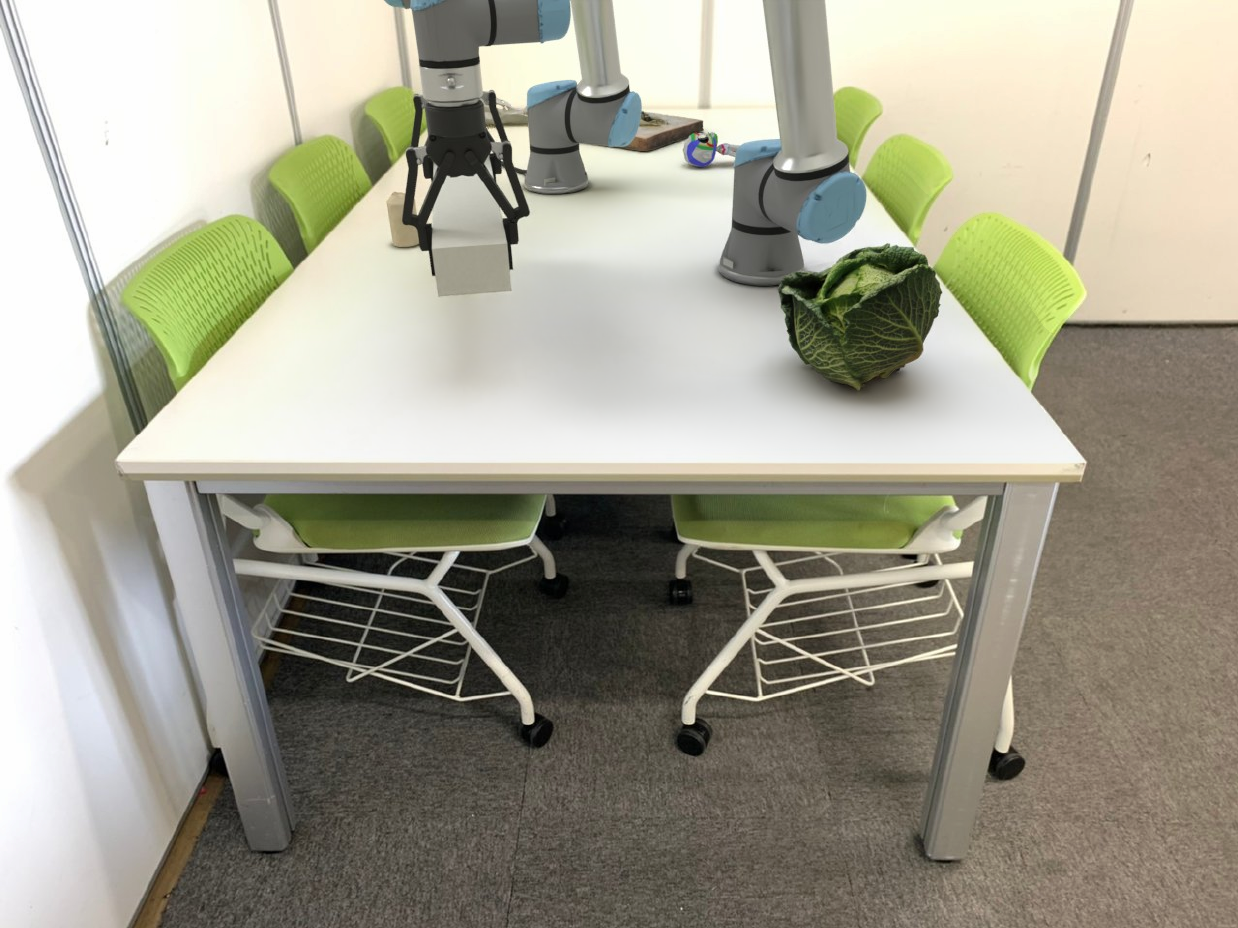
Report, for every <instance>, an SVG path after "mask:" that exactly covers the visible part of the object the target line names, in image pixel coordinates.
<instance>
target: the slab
mask: <svg viewBox="0 0 1238 928" xmlns="http://www.w3.org/2000/svg"><path fill="white" fill-rule="evenodd" d="M484 164H485V166H486V167H487V169H488V171H489V172H490V174H491V175H492V177H493V172H492V167H491V162H490V158H489V156H488V158H487V159H486V161H485V163H484ZM437 167H438V166H437V165H436V164H435V163H434V167H433V178H434V175H435V172H436V169H437ZM493 178H494V177H493ZM501 211H502V210H501V208H500V207H499V205H498V204H497V202H496V201H495V199H494V198H493V196H492V195H491V193H490V192H489V190H488V189H487V187H486V186H485V185H484V183H483V182H482V181H481V179H480V178H479V176H478V175H477V174H475V175H474V176H463V175H461V176H458V177H453V178H450V176H447V177H446V179H445V182H444V184H443V185H442V188H441V190H440V192H439V195H438V197H437V200H436V202H435V204H434V207H433V209H432V219H431V220H432V221H431V223H432V254H433V262H434V269H435V276H434V277H435V283H436V291H437V297H439V298H441V297H451V296H453V297H454V296H464V295H476V294H477V295H478V294H488V293H489V294H490V293H501V292H502V293H503V292H512V283H511V270H510V269H509V258H508V247H507V240H506V235H505V230H504V226H503V219H502V218H503V216H502V212H501Z"/></svg>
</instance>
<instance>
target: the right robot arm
mask: <svg viewBox="0 0 1238 928" xmlns="http://www.w3.org/2000/svg"><path fill="white" fill-rule="evenodd" d="M762 5H763V15H764V22H765V23H764V24H765V31H766V38H767V39H766V40H767V47H768V55H769V63H770V71H771V78H772V79H771V80H772V86H773V94H774V102H775V110H776V111H775V112H776V118H777V119H776V120H777V126H778V133H779V138H773V139H771V138H770V139H759V140H752V141H747V142H744V143H742V144H740V146H739V147H738V149H737V151H736V156H735V157H734V163H733V170H734V172H733V189H732V209H731V211H732V212H731V227H730V232H729V234H728V237H727V239H726V242H725V245H724V248H723V249H722V253H721V255H720V259H719V264H718V265H719V267H718V269H719V273H720V274H721V276H723V278H725V279H727V280H729V281H731V282H735V283H738V284H742V285H749V286H756V287H757V286H759V287H770V286H779V285H780V284H781V283H782V281H781V280H782V278H783V277H784V276H786V275H789V274H790V273H793V272H796V271H805V259H804V255H803V252H802V247H801V243H800V239H799V237H800V238H802V239H803V240H805V241H811V242H813V243H816V244H824V245H825V244H826V245H827V244H831V243H835V242H837V241H839V240H841V239H842V238H844V237H845V236H846V235H848V234H849V233H850V232H851V231H852V230H853V229H854V228H855V226H856V224H857V223H858V221H859V220H861V217H862V215H863V213H864V211H865V208H866V204H867V195H868V194H867V188H866V184H865V182H864V181H863V179H862V178H861V177H860V176H859V175H858V174H856V172H851V167H850V153H849V148H848V145H847V144H846V143H844V142H843V141H841V140H840V139H838V132H837V121H836V110H835V109H836V108H835V99H834V98H835V97H834V96H835V95H834V86H833V74H832V64H831V52H830V51H831V50H830V41H829V29H828V19H827V18H828V16H827V6H826V0H762ZM409 9H410V10H411V14H412V21H413V22H412V23H413V29H414V34H415V41H416V43H415V44H416V50H417V55H418V69H419V77H420V83H421V91H422V95H423V98H424V99H426V100H427V101H429V102H427V104H426V106H425V107H424V108H425V109H424V116H425V123H426V130H427V137H428V142H427V144H426V146H424V145H422V146H418V147H415V148H414V147H413V146H411V145H407V146H406V148H405V158H406V163H407V167H408V171H407V176H406V184H405V185H406V186H405V200H404V207H403V215H402V223H403V224H404V225H411V226H414V227H415V228H416V229H417V232H418V239H419V244H418V246H419V249H420V251H421V252H428V257H429V263H430V264H429V265H430V271H431V277H436V276H435V269H434V262H433V254H432V222H430V223H429V219H430V216H431V214H432V213H433V207H434V204H435V202H436V200H437V197H438V195H439V192H440V190H441V188H442V185H443V184H444V182H445V179H446V177H447V176H450V178H453V177H458V176H461V175H463V176H474V175H475V174H477V175H478V176H479V178H480V179H481V181H482V182H483V183H484V185H485V186H486V187H487V189H488V190H489V192H490V193H491V195H492V196H493V198H494V199H495V201H496V202H497V204H498V205H499V207H500V211H502V213H503V215H504V216H505V217H502V220H503V226H504V230H505V235H506V240H507V247H508V258H509V269H510V271H512V270H514V265H513V263H514V262H513V253H512V251H513V250H512V245H518V244H519V242H520V237H519V227H518V226H519V225H518V222H519V220H520V219H522V218H527V217H529V216H530V214H531V211H530V208H529V204H528V201H527V199H526V196H525V193H524V190H523V188H522V184H521V181H520V179H519V176H518V174H517V173H518V172H516V170H515V168H514V167H515V165H514V162H513V146H512V143H511V141H510V140H509V139H508V140H504V141H503V142H501V141H495V142H490V140H489V138H488V137H487V132H486V128H487V124H486V121H485V111H484V103H482V101H481V100H479V98H480V97H481V96H482V95H483V91H484V90H483V89H484V88H483V79H482V70H481V59H480V47H491V46H502V45H517V44H534V43H540V44H544V43H546V42H551V41H559V40H561V39H563V38H565V36H566V35H567V34H568V32H569V28H570V26H571V20H572V19H571V18H572V8H571V0H411V5H410V8H409ZM492 151H493V152H495V153H496V156H497V158H498V159H499V160H501V161H503V164H504V166H503V167H504V171H505V173H506V177H507V178H508V181H509V184H510V187H511V189H512V192H513V196H514V197H515V200H516V203H517V206H516V207H513V205H512V203H511V202H510V201H509V199H508V198H507V196H506V195H505V193H504V192H503V190H502V188H501V187H500V186H499V185H498V183H496V182H497V180H496V181H495V180H494V178H493V177H492V175H491V174H490V172H489V171H488V169H487V167H486V166H485V164H484V163H485V161H486V159H487V158H488V156H489V154H490V153H493V152H492ZM426 155H428V156H429V157H430V159H431V160H432V161H433V162H434V163H435V164H436V165H437V166H438V167H437V169H436V172H435V175H434V178H433V180H432V182H431V181H430V182H431V183H430V184H429V187H428V190H427V192H426V193H425V194H426V195H425V197H424V199H423V202H422V204H421V207H420V208H419V212H418V213H417V215H415V214H412V212H413V205H414V199H415V197H416V189H417V182H418V176H419V175H418V174H419V166H422V163H423V158H424V157H425V156H426Z"/></svg>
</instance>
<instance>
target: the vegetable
mask: <svg viewBox="0 0 1238 928" xmlns="http://www.w3.org/2000/svg"><path fill="white" fill-rule="evenodd" d="M936 275H937V272H936V270H935V268H934V267H931V266H930V265H929V261H928V257H927V256H926V254H923V253H921V252H918V251H916V250H915V247H914V246H900V245H897V244H894V245H892V246H891V243H888V242H887V243H885V244H883V245H882V246H865V247H861V248H856V249H853V250H852V251H850V252H848V253H847V254H845V255H843V256H841V257H840V258H838V260H837V261H836V262H835V263H834V264H832V266H831V267H828V268H826V269H824V270H822V271H810V270H806V271H805V270H804V271H796V272H793V273H790V274H789V275H786V276H784V277H783V278H782V280H781V281H782V283H781V284H780V285H778V288H777V293H778V296H779V299H780V309H781V310H782V312H783V313H784V314H785V316H784V323H785V326H786V329H787V330H786V332H787V334H788V341H789V344H790V345H791V347H792V349H793V350H794V351H795V352H796V354H797V355H798V357H799V358H800V359H801V361H802V362H803V363H804V364H805V365H810V366H811V367H812V368H813V369H814V371H816V372H817V373H818V374H819V375H821V376H822V377H824V378H825V379H828V380H829V381H830V382H835V383H839V384H842V385H843V384H844V385H849V386H850V387H852V388H854V389H855V390H856V391H857V392H859V391H860V390H861V388H863V387H866V386H865V383H868V382H870V381H871V380H872V379H873V378H875V377H879V378H882V379H888V378H889V377H890V375H891V374H892V373H893V372H899V371H900V370H901V369H902V368H905V366H906V365H908V364H910V363H912V362H914V361H916V360H918V359H920V357H921V355H922V354H923V353H924V343H925V340H926V338H927V336H928V335H929V333H930V331H931V329H932V327H933V325H934V321H935V319H936V318H938V316H939V313H940V309H939V308H940V307H941V306H942V305H941V303H940V301H941V297H942V294H943V290H942V288H941V284H940V283H941V282H940V281H939V280H938V279H937V277H936Z"/></svg>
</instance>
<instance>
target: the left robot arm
mask: <svg viewBox="0 0 1238 928" xmlns="http://www.w3.org/2000/svg"><path fill="white" fill-rule="evenodd" d="M383 1H384V2H385V3H386V4H387V5H388V6H390V7H393V8H401V9H405V10H410V9H411V8H410V5H411V0H383ZM613 2H614V0H571V1H570V8H571V15H572V21H573V28H574V34H575V41H576V47H577V54H578V62H579V67H580V75H581V79H580V81H579V82H577V81H576V80H575V79H574V80H573V79H563V80H554V81H548V82H543V83H539V84H535V85H532V86H531V87H530V88H529V89H528V90H527V93H526V106H527V107H526V106H525V107H526V109H527V115H528V123H527V127H528V140H529V141H528V142H529V157H528V162H527V168H526V169H521V168H519V167H516V166H514V168H515V170H516V173H520V174H524V180H523V183H524V188H525V189H526V190H527V191H530V192H531V193H535V194H536V193H537V194H543V195H544V194H545V195H562V194H570V193H576V192H579V191H583V190H584V189H586V188H587V187H589V175H588V173H587V171H586V168H585V164H584V161H583V158H582V156H581V153H580V144H583V145H594V146H602V147H603V146H604V147H609V148H614V147H613V146H618V147H617V148H619V147H624V146H627V145H629V144H630V143H631V142H632V141H633V139H634V137H635V136H636V133H637V131H638V127H639V124H640V120H641V112H642V111H643V110H642V109H643V108H642V107H643V106H642V104H643V103H642V98H641V96H640V94H639V93H638V92H636V91H634V90H632V91H631V89H630V80H629V78H628V77H627V76H626V75H624V74H622V70H621V62H620V54H619V53H620V52H619V45H618V36H617V28H616V27H617V26H616V19H615V11H614V3H613ZM412 97H413V98H412V99H413V100H412V101H413V106H414V110H415V112H414V116H413V117H414V118H413V126H412V132H411V133H412V134H411V141H410V146H413V147H414V148H415V147H419V145H420V138H421V129H422V122H423V112H424V111H423V110H425V108H424V107H425V106H426V104H427V103H428V102H429V101H427V100H426V99H424V98H423V94H419V93H415V94H414V95H413V96H412ZM480 98H481V99H483V101H484V103H485V105H489V108H490V112H491V115H492V118H493V120H494V123H495V125H494V127H495V128H496V131H497V134H498V137H499V140H500V142H503V141H504V140H508V141H509V138H508V136H507V133H506V130H505V127H504V124H502V121H501V119H500V116H499V113H498V110H497V108H498V107H497V105H496V98H497V93H496V91H495V90H493V89H490V90H489V91H487V90H485V91H484V90H483V95H482V96H481V97H480ZM480 98H479V99H480ZM486 132H487V137H488V138H489V140H490V142H496V139H494V138H493V136H492V134H491V132H490V131H489V129H488V128H487V127H486ZM427 142H428V136H427V137H426V140H425V142H424V144H423V146H426V144H427ZM489 158H490V162H491V167H492V172H493V177H494V180H495V181H496V183H497V175H502V173H503V168H502V167H504V164H503V160H499V159H498V158H497V156H496V153H495V152H493V151H491V153H490V154H489ZM421 166H422V173H423V177H424V179H425V180H428V179H429V180H430V182H432V180H433V167H434V162H433V161H432V160H431V159H430V157H429V156H428V155H426V156H425V157H424V158H423V163H422V164H421ZM497 184H498V183H497Z"/></svg>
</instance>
